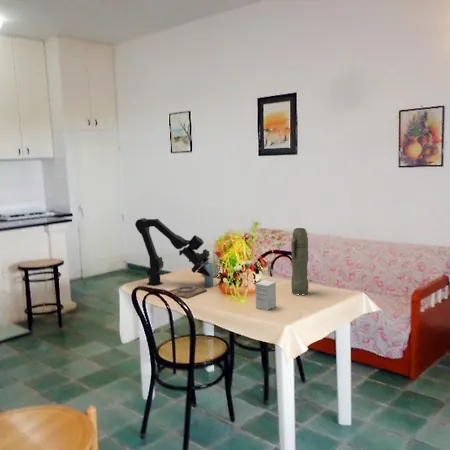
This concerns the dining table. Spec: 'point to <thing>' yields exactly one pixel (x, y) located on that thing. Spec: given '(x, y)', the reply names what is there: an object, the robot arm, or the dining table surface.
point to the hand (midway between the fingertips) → (211, 274)
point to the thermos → (299, 261)
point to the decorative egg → (214, 259)
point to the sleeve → (209, 279)
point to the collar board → (198, 291)
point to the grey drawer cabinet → (265, 294)
